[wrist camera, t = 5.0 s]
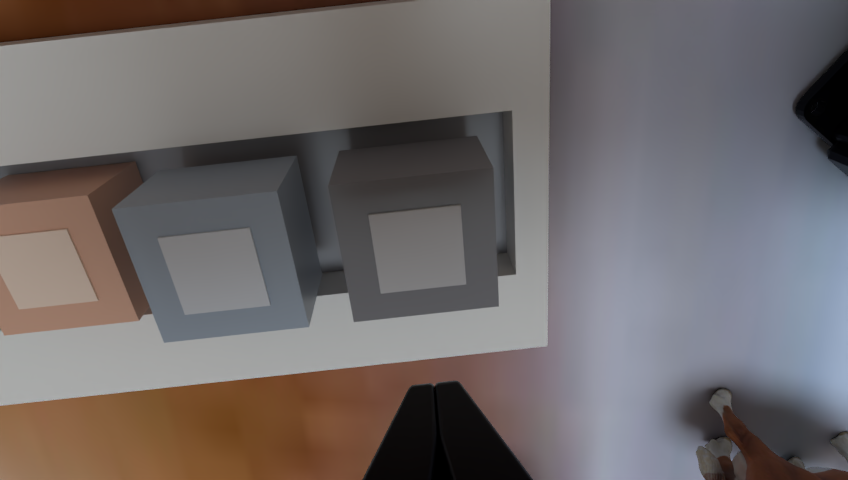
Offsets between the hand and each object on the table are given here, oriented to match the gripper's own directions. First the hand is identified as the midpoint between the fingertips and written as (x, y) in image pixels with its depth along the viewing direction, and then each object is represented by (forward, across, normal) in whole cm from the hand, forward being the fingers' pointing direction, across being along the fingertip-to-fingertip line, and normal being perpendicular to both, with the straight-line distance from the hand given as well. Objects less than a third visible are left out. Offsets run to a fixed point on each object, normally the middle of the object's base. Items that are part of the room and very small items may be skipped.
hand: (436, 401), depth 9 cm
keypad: (+11, +8, 0) cm, 14 cm away
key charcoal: (+9, 0, 0) cm, 9 cm away
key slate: (+9, +6, 0) cm, 10 cm away
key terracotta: (+10, +11, 0) cm, 15 cm away
